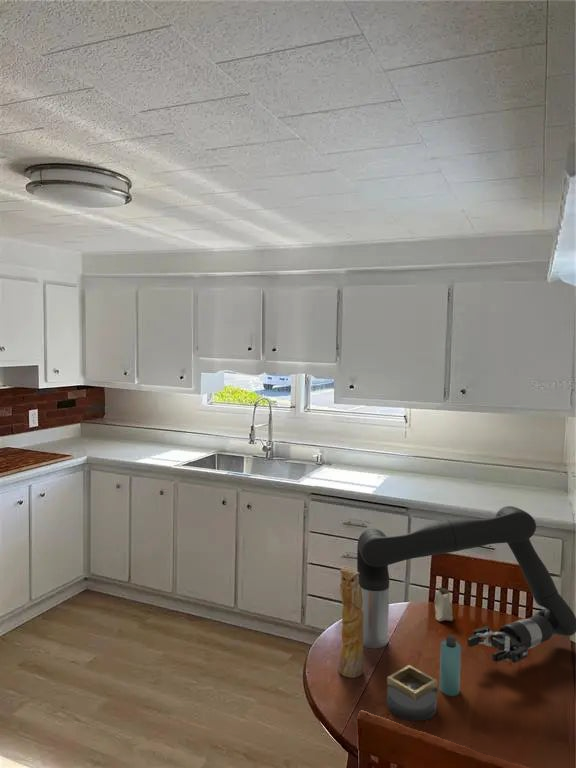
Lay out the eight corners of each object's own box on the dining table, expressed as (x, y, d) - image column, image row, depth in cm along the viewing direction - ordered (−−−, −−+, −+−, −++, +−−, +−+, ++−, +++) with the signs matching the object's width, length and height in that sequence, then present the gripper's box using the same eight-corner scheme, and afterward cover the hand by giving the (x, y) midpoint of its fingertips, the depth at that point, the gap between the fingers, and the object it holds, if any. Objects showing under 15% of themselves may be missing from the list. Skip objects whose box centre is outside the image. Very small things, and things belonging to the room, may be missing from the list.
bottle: (435, 689, 150) (437, 636, 149) (446, 681, 153) (448, 630, 152) (452, 698, 146) (453, 644, 145) (463, 690, 149) (465, 638, 148)
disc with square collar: (376, 702, 144) (377, 676, 143) (407, 684, 151) (407, 659, 151) (416, 727, 135) (416, 699, 134) (446, 707, 142) (447, 680, 142)
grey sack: (453, 628, 186) (466, 601, 185) (433, 622, 185) (446, 594, 184) (441, 612, 195) (454, 586, 194) (422, 606, 193) (435, 580, 192)
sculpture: (333, 681, 152) (336, 570, 150) (341, 663, 161) (344, 557, 159) (358, 686, 150) (361, 574, 148) (365, 667, 159) (368, 561, 157)
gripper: (500, 612, 169) (460, 625, 160) (544, 633, 156) (503, 649, 148) (499, 637, 169) (460, 651, 161) (542, 660, 157) (502, 677, 149)
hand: (480, 650), depth 155 cm, fingers open, 8 cm apart
